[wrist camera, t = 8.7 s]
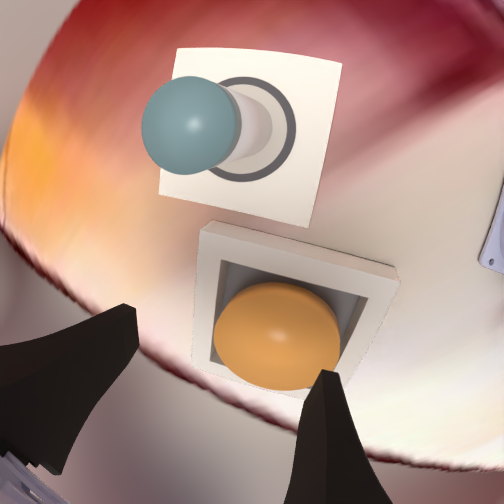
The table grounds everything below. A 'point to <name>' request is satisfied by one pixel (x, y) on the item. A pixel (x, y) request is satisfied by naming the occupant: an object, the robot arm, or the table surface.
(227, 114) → the white cylindrical piece
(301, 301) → the button
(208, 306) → the button box
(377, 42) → the table surface
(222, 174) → the paper sheet
